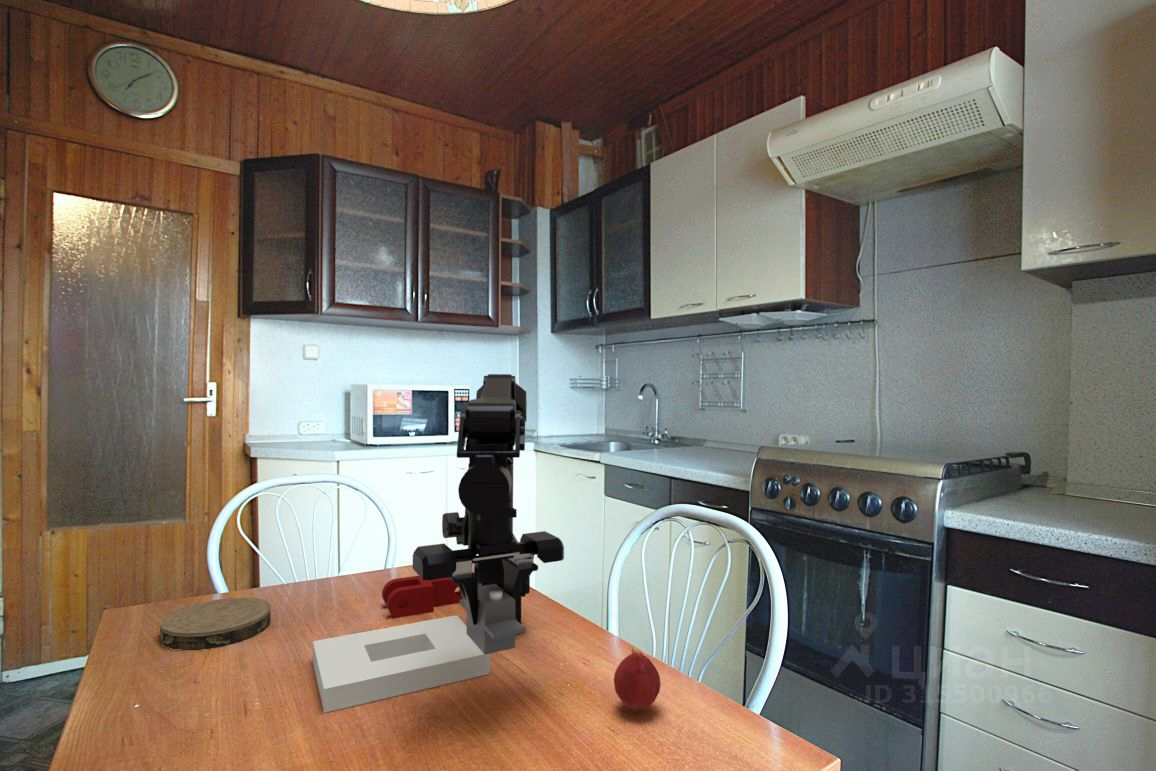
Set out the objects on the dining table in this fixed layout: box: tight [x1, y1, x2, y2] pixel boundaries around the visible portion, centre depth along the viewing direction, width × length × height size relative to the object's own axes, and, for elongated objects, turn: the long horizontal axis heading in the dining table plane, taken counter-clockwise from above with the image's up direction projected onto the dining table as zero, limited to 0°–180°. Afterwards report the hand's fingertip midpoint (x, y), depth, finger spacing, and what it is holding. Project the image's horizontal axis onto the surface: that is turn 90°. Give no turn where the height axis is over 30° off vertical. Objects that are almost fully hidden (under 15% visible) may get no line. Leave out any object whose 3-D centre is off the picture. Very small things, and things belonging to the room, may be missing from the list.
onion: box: [613, 646, 661, 713], centre depth 76 cm, size 6×6×8 cm
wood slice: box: [159, 596, 272, 651], centre depth 101 cm, size 16×16×3 cm
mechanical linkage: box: [381, 575, 463, 619], centre depth 113 cm, size 16×7×5 cm, turn 117°
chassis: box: [312, 615, 491, 714], centre depth 88 cm, size 22×16×3 cm
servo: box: [459, 584, 526, 655], centre depth 78 cm, size 13×4×7 cm, turn 28°
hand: (490, 620), depth 78 cm, fingers closed on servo, 4 cm apart
